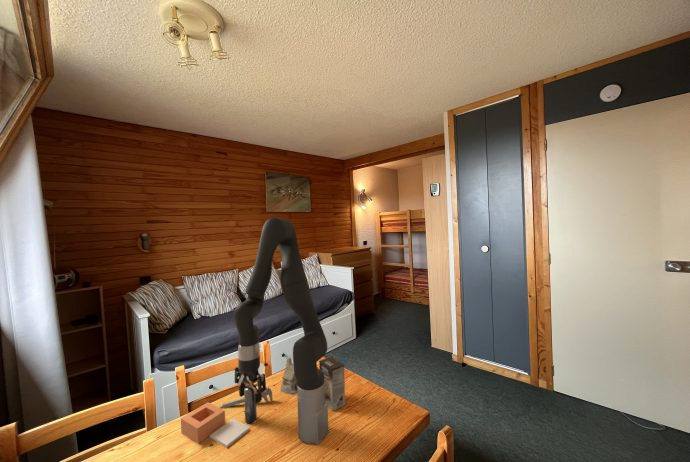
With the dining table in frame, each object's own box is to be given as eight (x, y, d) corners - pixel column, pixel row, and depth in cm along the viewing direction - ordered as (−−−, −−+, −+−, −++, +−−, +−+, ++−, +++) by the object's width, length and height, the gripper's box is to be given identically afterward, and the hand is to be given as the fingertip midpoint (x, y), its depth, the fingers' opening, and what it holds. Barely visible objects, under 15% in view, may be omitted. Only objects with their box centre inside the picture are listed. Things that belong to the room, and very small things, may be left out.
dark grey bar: (259, 418, 99) (258, 386, 99) (250, 425, 96) (249, 391, 96) (251, 414, 101) (250, 383, 101) (242, 421, 98) (241, 388, 98)
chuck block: (225, 424, 97) (224, 410, 97) (198, 443, 88) (197, 428, 88) (208, 415, 102) (208, 402, 102) (181, 432, 93) (180, 418, 93)
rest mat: (249, 429, 94) (249, 427, 94) (226, 447, 86) (226, 445, 86) (233, 420, 99) (232, 418, 99) (209, 437, 91) (209, 435, 91)
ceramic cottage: (275, 387, 119) (276, 353, 119) (304, 373, 131) (305, 342, 131) (297, 404, 108) (299, 367, 108) (326, 387, 121) (328, 353, 120)
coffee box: (319, 400, 109) (318, 360, 109) (332, 394, 113) (331, 355, 113) (332, 411, 102) (331, 369, 102) (345, 404, 106) (344, 363, 106)
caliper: (272, 401, 110) (272, 385, 110) (272, 402, 109) (271, 387, 109) (219, 407, 107) (219, 391, 107) (218, 409, 106) (218, 393, 106)
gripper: (270, 355, 98) (271, 399, 99) (244, 346, 106) (245, 388, 106) (254, 364, 92) (255, 411, 92) (227, 354, 99) (228, 398, 99)
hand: (250, 398), depth 99 cm, fingers open, 8 cm apart
